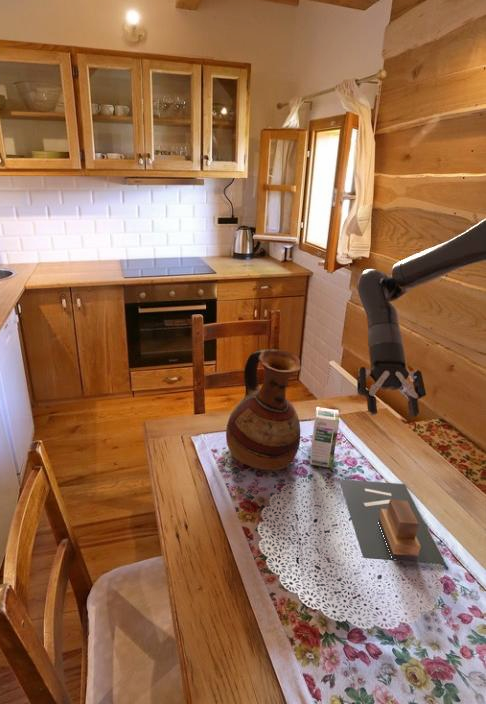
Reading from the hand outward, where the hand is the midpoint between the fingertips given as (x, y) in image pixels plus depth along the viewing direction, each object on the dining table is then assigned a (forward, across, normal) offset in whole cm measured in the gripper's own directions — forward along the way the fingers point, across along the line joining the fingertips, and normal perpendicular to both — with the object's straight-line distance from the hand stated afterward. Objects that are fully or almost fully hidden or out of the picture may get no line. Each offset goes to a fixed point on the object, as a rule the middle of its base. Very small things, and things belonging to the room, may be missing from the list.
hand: (393, 415), depth 89 cm
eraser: (+25, 0, +6) cm, 25 cm away
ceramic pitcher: (+7, -27, +26) cm, 38 cm away
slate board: (+21, 0, +11) cm, 24 cm away
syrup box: (+7, -11, +25) cm, 28 cm away
